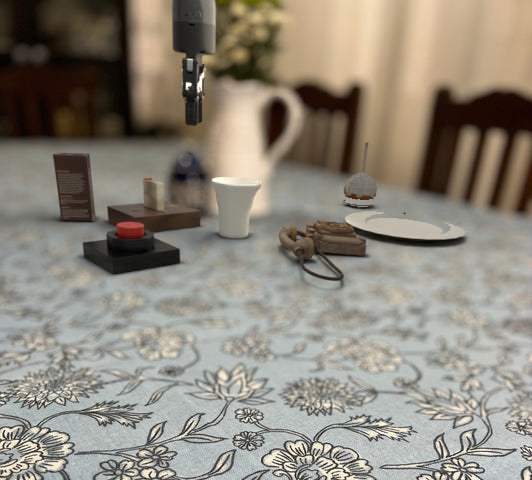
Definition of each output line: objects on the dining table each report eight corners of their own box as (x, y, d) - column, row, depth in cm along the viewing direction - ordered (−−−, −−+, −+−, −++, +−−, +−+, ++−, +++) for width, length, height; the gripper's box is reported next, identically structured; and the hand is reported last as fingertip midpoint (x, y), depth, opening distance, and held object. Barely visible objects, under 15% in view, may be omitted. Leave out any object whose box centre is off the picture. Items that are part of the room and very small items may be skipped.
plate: (439, 254, 93) (441, 245, 92) (321, 228, 106) (322, 220, 105) (481, 233, 111) (482, 225, 111) (376, 213, 124) (377, 205, 124)
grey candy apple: (365, 203, 136) (374, 141, 129) (379, 209, 129) (389, 144, 123) (338, 202, 134) (345, 140, 127) (350, 209, 127) (359, 143, 120)
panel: (136, 234, 93) (135, 216, 92) (108, 221, 100) (107, 205, 99) (200, 226, 102) (200, 209, 100) (170, 215, 109) (170, 199, 107)
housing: (113, 274, 73) (111, 246, 71) (83, 256, 79) (81, 230, 78) (180, 262, 80) (179, 236, 78) (147, 247, 86) (146, 223, 84)
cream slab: (164, 210, 98) (163, 181, 96) (157, 210, 98) (156, 182, 95) (150, 205, 102) (149, 177, 99) (144, 206, 101) (142, 178, 98)
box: (95, 216, 103) (90, 152, 98) (93, 221, 99) (87, 155, 94) (64, 216, 102) (56, 151, 97) (59, 221, 98) (52, 153, 93)
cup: (249, 243, 92) (251, 185, 88) (202, 236, 95) (202, 179, 90) (266, 233, 100) (269, 179, 95) (222, 226, 102) (223, 173, 98)
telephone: (293, 286, 72) (297, 256, 70) (271, 230, 101) (273, 208, 100) (397, 294, 74) (403, 265, 72) (345, 237, 103) (349, 215, 101)
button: (124, 241, 75) (124, 229, 75) (112, 235, 78) (111, 223, 77) (149, 237, 78) (148, 226, 77) (136, 232, 80) (135, 220, 80)
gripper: (178, 25, 96) (179, 121, 103) (166, 14, 83) (168, 124, 90) (218, 28, 96) (216, 123, 103) (212, 18, 83) (211, 127, 91)
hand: (194, 124), depth 97 cm, fingers open, 8 cm apart
